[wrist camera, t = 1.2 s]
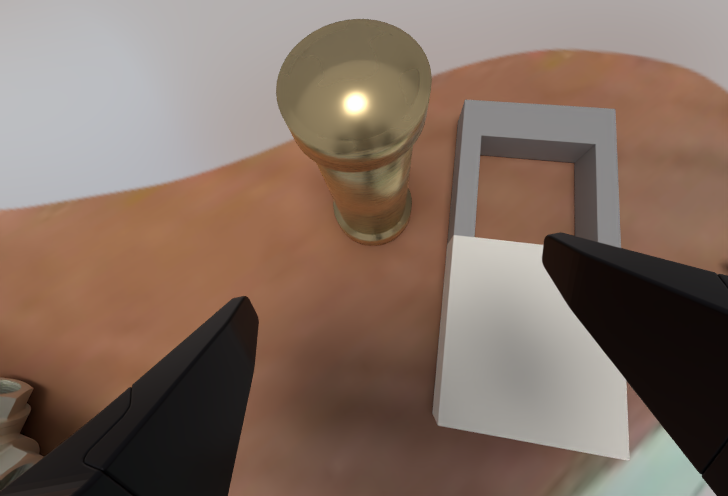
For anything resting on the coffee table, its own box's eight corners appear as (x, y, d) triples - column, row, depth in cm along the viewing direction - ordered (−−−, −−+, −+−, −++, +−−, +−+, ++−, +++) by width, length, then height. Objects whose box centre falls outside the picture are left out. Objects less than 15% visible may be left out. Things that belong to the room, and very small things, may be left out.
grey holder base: (599, 443, 19) (629, 460, 17) (432, 413, 20) (437, 425, 18) (592, 131, 24) (615, 109, 21) (458, 121, 25) (465, 99, 23)
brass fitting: (424, 198, 24) (461, 54, 11) (384, 259, 23) (375, 180, 10) (362, 164, 25) (333, -1, 12) (322, 221, 24) (245, 107, 11)
